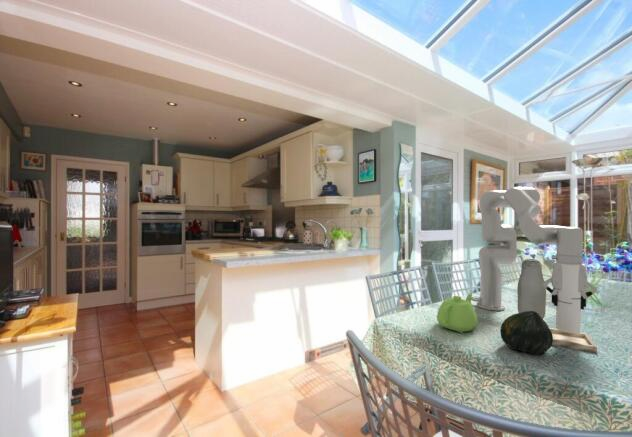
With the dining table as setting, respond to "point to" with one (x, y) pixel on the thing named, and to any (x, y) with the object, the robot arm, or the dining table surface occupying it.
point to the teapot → (457, 314)
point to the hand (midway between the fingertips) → (568, 306)
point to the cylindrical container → (569, 301)
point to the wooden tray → (573, 340)
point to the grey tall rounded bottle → (531, 288)
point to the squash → (527, 332)
